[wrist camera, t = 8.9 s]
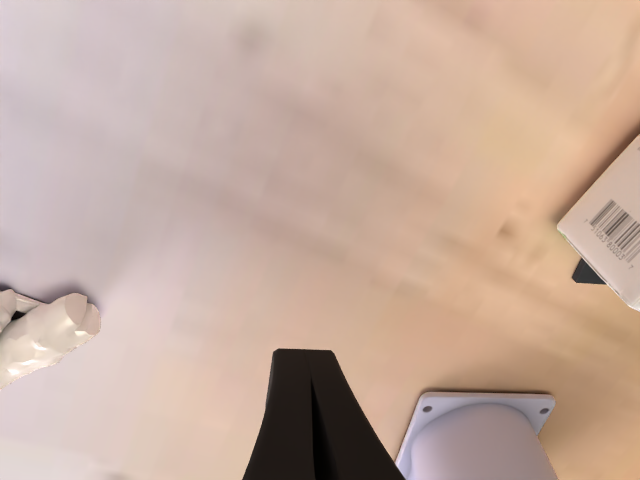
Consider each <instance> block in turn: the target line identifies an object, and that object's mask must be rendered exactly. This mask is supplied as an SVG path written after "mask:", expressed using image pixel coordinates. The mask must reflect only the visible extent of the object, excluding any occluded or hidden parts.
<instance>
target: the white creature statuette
mask: <svg viewBox="0 0 640 480" xmlns="http://www.w3.org/2000/svg"><path fill="white" fill-rule="evenodd" d="M16 310H17V311H20V312H23V313H26V315H24V316H23V317H22V318H19V319H16V320H11V317H12V316H13V314H14V313H15V311H16ZM100 328H101V318H100V314H99V312H98V310H97V308H96V307H95V306H94V305H93V304H89V303H87V296H83V295H81V294H78V293H72V294H69V295H66V296H63V297H60V298H58V299H56V300H55V301H54V302H52V303H50V304H46V303H42V302H39V301H36V300H33V299H31V298H28V297H25V296H22V295H20V294H17V293H15V292H14V291H13V290H12V289H8V290H6V291H3V292H1V291H0V390H1V389H2V388H4V387H5V386H7V385H9V384H11V383H12V382H13V381H15V380H17V379H18V378H20V377H22V376H23V375H26V374H30V373H31V372H32V371H34V370H36V369H40V368H43V367H45V366H51V365H54V364H56V363H59V362H60V361H61V359H62V358H63V356H64V355H65V354H67V353H69V352H71V351H73V350H75V349H76V347H77V346H79V345H82V344H84V343H86V342H87V341H89V340H90V339H91V338H93V337H94V336H95V335H97V334H98V333H99V331H100Z"/></svg>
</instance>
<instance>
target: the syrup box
mask: <svg viewBox="0 0 640 480" xmlns="http://www.w3.org/2000/svg"><path fill="white" fill-rule="evenodd" d="M557 230H558V231H559V232H560V233H561V234H562V235H563V237H564V238H565V239H566V240H567V241H568V242H569V244H570V245H571V246H572V247H573V248H574V249H575V250H576V251H577V252H578V254H579V255H580V256H581V257H582V258H583V259H584V260H585V261H586V262H587V264H588V265H589V266H590V267H591V268H592V269H593V270H594V271H595V272H596V273H597V275H598V276H599V277H600V278H601V279H602V280H603V281H604V282H605V283H606V284H607V285H608V286H609V287H610V288H611V289H612V290H613V291H614V292H615V293H616V294H617V295H618V296H619V297H620V298H621V299H622V300H623V301H624V302H625V303H626V304H627V305H628V306H630V307H631V308H633V309H635V310H637V311H639V312H640V134H639V135H638V136H637V137H636V138H635V139H634V140H633V141H632V142H631V143H630V144H629V146H628V147H627V148H626V149H625V150H624V151H623V152H622V153H621V154H620V155H619V156H618V157H617V158H616V160H615V161H614V162H613V163H612V164H611V165H610V166H609V167H608V168H607V169H606V171H605V172H604V173H603V174H602V175H601V176H600V177H599V178H598V179H597V180H596V181H595V182H594V184H593V185H592V186H591V187H590V188H589V189H588V190H587V191H586V193H585V194H584V195H583V196H582V197H581V198H580V199H579V200H578V201H577V203H576V204H575V205H574V206H573V207H572V208H571V209H570V210H569V211H568V213H567V214H566V215H565V216H564V217H563V218H562V219H561V220H560V222H559V223H558V224H557Z"/></svg>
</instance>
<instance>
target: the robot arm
mask: <svg viewBox="0 0 640 480" xmlns="http://www.w3.org/2000/svg"><path fill="white" fill-rule="evenodd" d="M555 404H556V401H555V399H554V397H553V396H552V395H548V394H509V393H466V392H426V393H424V394H422V395H421V397H420V398H419V401H418V404H417V406H416V409H415V412H414V414H413V417H412V420H411V422H410V425H409V428H408V430H407V433H406V436H405V438H404V441H403V444H402V446H401V449H400V451H399V454H398V457H397V459H396V462H395V463H394V461H393V460H392V458H391V457H390V455H389V454H388V452H387V451H386V449H385V448H384V446H383V445H382V443H381V441H380V440H379V438H378V437H377V435H376V433H375V432H374V430H373V428H372V426H371V425H370V423H369V421H368V420H367V418H366V416H365V414H364V413H363V411H362V409H361V407H360V406H359V404H358V402H357V400H356V398H355V396H354V394H353V392H352V390H351V388H350V387H349V385H348V383H347V380H346V378H345V376H344V374H343V372H342V370H341V368H340V366H339V363H338V361H337V359H336V356H335V354H334V353H333V352H332V351H331V350H306V349H277V350H276V351H274V352H273V357H272V364H271V371H270V378H269V385H268V392H267V399H266V409H265V414H264V418H263V421H262V425H261V428H260V432H259V435H258V437H257V440H256V443H255V446H254V449H253V452H252V455H251V458H250V461H249V464H248V466H247V469H246V471H245V474H244V477H243V479H242V480H559V479H558V477H557V475H556V473H555V471H554V469H553V467H552V465H551V463H550V461H549V459H548V457H547V455H546V453H545V451H544V449H543V447H542V445H541V443H540V441H539V439H538V437H537V435H538V434H539V432H540V430H541V428H542V427H543V425H544V423H545V422H546V420H547V418H548V417H549V415H550V413H551V411H552V410H553V408H554V406H555Z"/></svg>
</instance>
